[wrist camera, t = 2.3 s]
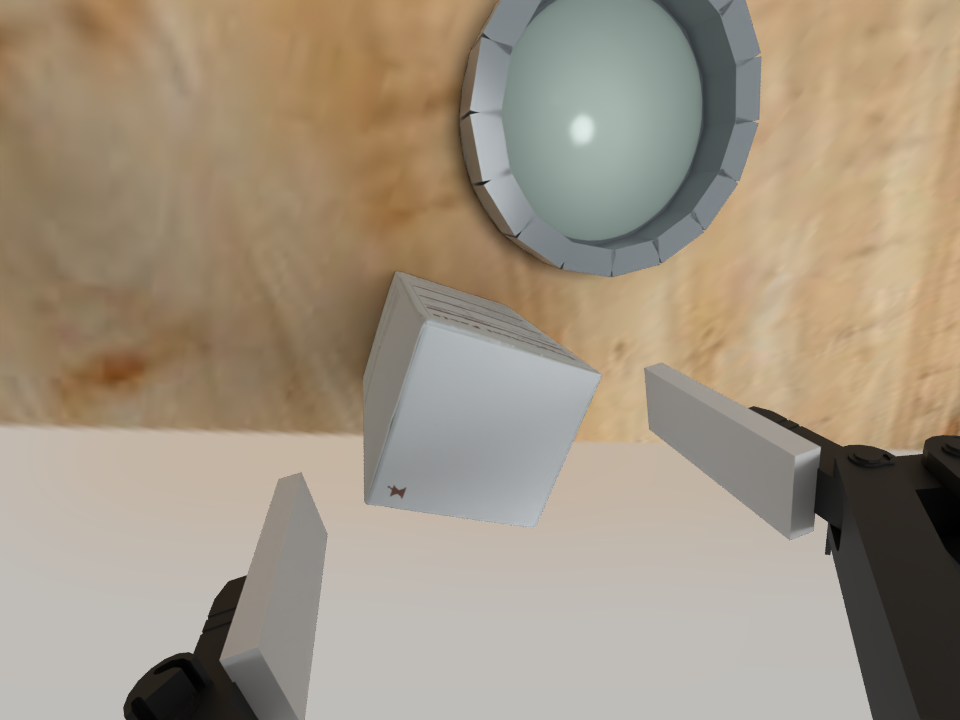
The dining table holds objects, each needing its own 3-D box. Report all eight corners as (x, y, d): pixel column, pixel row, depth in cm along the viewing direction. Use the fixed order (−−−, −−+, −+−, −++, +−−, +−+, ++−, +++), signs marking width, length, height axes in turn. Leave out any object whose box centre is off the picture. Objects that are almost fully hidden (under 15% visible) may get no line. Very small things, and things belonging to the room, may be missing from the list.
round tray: (427, -24, 22) (437, -59, 19) (715, -67, 24) (766, -105, 21) (490, 294, 28) (505, 305, 25) (716, 234, 30) (755, 238, 27)
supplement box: (469, 406, 30) (536, 536, 18) (359, 379, 28) (356, 509, 16) (509, 303, 28) (610, 375, 17) (395, 264, 26) (421, 317, 14)
